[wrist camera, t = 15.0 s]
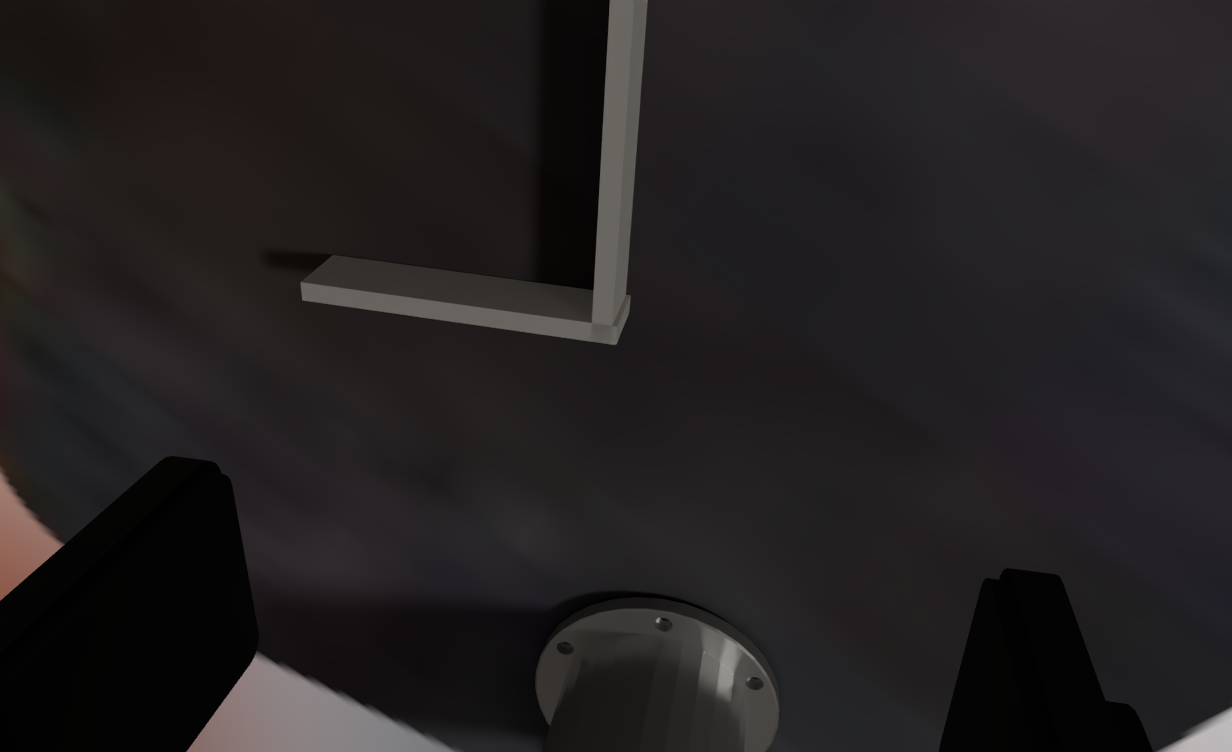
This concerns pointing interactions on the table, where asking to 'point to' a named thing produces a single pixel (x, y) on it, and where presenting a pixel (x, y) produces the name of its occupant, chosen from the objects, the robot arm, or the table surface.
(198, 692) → the robot arm
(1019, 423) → the table surface
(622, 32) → the frame
